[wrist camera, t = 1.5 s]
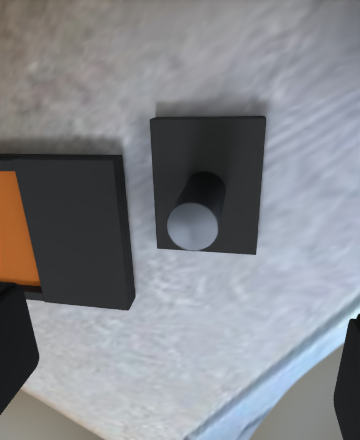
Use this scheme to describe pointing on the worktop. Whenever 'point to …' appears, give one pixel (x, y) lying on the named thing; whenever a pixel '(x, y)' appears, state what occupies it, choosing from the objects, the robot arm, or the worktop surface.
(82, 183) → the base pad
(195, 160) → the black pad
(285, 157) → the worktop surface
